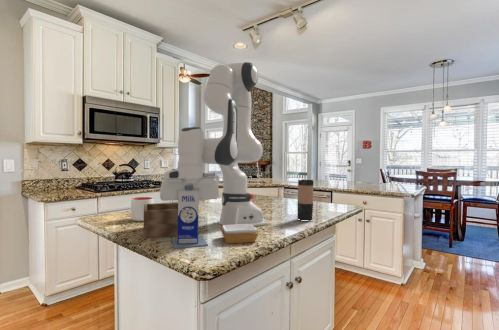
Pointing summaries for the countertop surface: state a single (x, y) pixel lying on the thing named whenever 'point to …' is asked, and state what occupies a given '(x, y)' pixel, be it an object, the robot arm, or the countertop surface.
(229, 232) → the soap dish
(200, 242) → the mat
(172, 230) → the crate
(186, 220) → the milk carton
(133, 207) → the cup
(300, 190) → the travel mug
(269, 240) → the countertop surface
